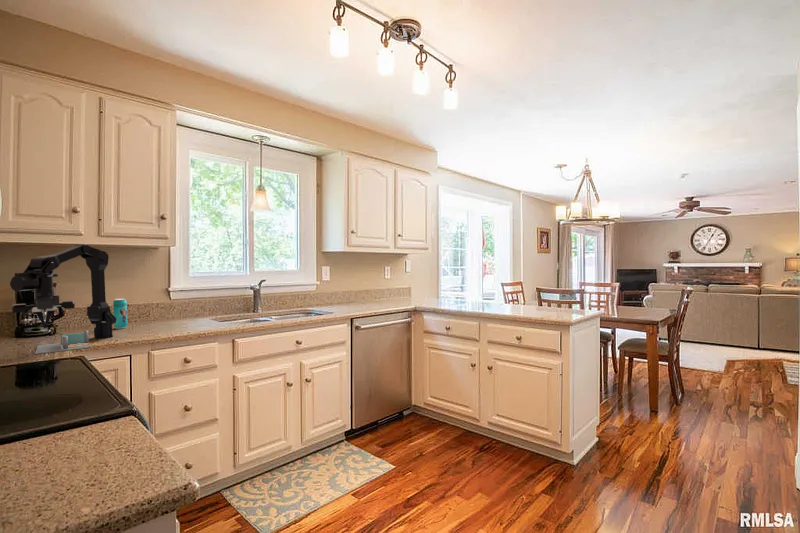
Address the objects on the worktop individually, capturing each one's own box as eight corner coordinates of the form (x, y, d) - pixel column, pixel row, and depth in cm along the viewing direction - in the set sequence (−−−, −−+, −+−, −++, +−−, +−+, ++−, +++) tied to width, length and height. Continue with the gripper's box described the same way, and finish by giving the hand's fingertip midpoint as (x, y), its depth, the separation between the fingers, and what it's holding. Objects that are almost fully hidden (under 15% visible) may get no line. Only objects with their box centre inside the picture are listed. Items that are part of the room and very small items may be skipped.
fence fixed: (88, 342, 182) (88, 330, 182) (88, 342, 181) (88, 330, 181) (66, 344, 178) (66, 332, 178) (66, 345, 177) (66, 333, 176)
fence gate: (60, 344, 177) (60, 333, 176) (65, 344, 178) (65, 333, 178) (63, 348, 170) (62, 337, 169) (68, 347, 171) (67, 336, 171)
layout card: (88, 340, 187) (88, 339, 187) (89, 347, 173) (89, 346, 173) (37, 346, 177) (37, 345, 177) (34, 354, 163) (34, 353, 163)
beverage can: (120, 329, 214) (119, 299, 213) (111, 328, 215) (110, 299, 214) (130, 327, 219) (129, 298, 219) (120, 326, 221) (119, 298, 220)
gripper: (11, 291, 155) (13, 334, 155) (75, 288, 167) (76, 327, 168) (11, 289, 163) (13, 330, 163) (72, 286, 175) (73, 324, 176)
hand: (45, 328), depth 167 cm, fingers closed
